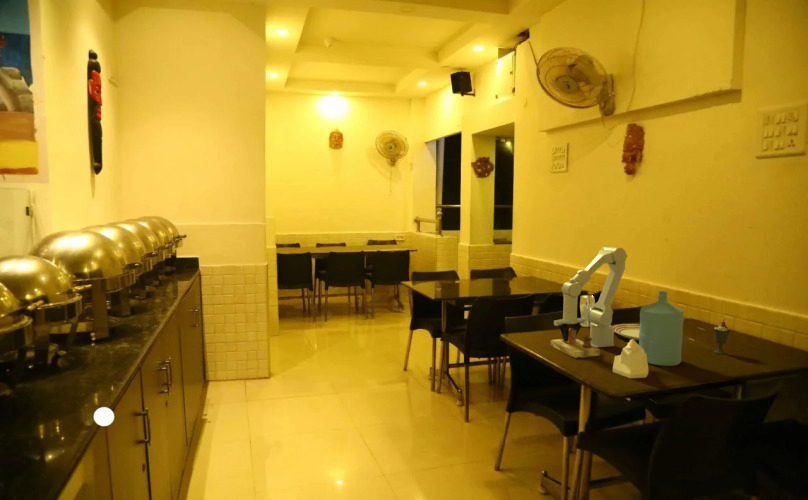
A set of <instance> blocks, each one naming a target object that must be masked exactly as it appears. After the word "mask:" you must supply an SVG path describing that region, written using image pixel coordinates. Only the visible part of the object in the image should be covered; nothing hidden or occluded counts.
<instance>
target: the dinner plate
mask: <svg viewBox="0 0 808 500" xmlns="http://www.w3.org/2000/svg"><path fill="white" fill-rule="evenodd" d="M612 327H613V330H614V333H616V334H617V335H620V337H623V338H625V339H628V340H632V339H634V341H635V342H639V331H640V324H636V323H621V324H616V325H612Z"/></svg>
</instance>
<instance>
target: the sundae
mask: <svg viewBox="0 0 808 500" xmlns="http://www.w3.org/2000/svg"><path fill="white" fill-rule="evenodd" d="M712 331H713V333H714V341H715V343H717V345H718V349H717V350H716V349H715V350H713V353H714V354H718V355H727V354H728V352H727V351H724V350H723V345H725V344H726V343H727V341H728V337H729V333H731V331H732V330H731V329H729V328H728V325H727V323H726V318H724V320H722V321H721V322H718V324H717V325H716V326H713V327H712Z"/></svg>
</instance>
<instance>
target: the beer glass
mask: <svg viewBox="0 0 808 500" xmlns="http://www.w3.org/2000/svg"><path fill="white" fill-rule="evenodd" d="M595 303H596V302H595V296H593V295H588V294H583V295H580V301H579V310H580V318H584V319H586V323H585V324H583V323H580V325H581V327H584V328H591V324H590V321H589V319H588V317H587V315H588V312H589V310H590V309H591V308H592V306H593V305H594V304H595Z"/></svg>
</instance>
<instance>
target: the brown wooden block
mask: <svg viewBox="0 0 808 500" xmlns="http://www.w3.org/2000/svg"><path fill="white" fill-rule="evenodd" d="M576 339H577V336H576V330H575V329H572V328H571V327H570V328H569V331H568V339H567V341H564V343H566V344H574V343H576Z"/></svg>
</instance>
